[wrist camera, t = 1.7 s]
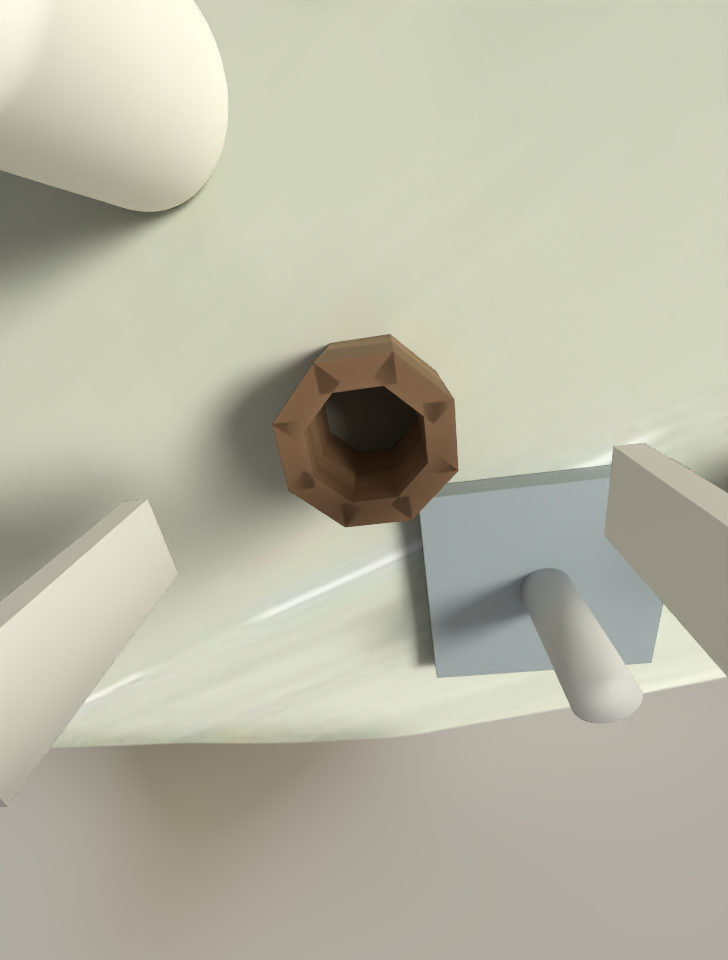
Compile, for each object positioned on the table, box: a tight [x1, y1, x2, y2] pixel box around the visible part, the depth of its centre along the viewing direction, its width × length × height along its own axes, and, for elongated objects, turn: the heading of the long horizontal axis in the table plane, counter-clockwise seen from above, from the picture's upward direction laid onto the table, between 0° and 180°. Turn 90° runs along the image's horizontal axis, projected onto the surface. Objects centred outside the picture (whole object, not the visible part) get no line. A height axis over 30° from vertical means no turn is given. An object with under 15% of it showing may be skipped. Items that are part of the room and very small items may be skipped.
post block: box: [419, 458, 689, 723], centre depth 22 cm, size 14×14×9 cm
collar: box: [272, 334, 459, 527], centre depth 20 cm, size 7×7×6 cm
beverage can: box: [0, 0, 228, 212], centre depth 12 cm, size 8×8×12 cm
